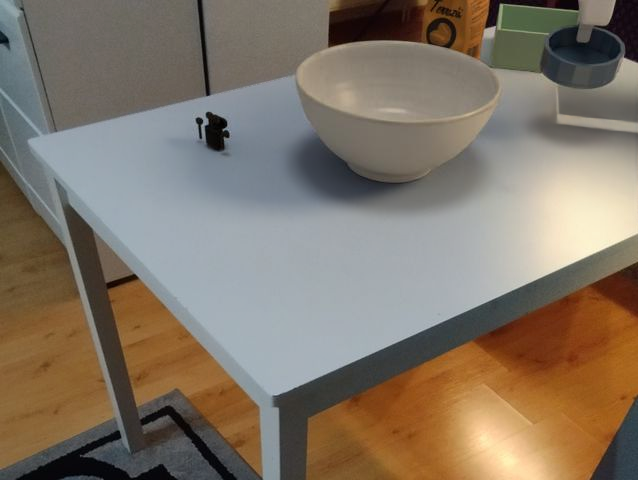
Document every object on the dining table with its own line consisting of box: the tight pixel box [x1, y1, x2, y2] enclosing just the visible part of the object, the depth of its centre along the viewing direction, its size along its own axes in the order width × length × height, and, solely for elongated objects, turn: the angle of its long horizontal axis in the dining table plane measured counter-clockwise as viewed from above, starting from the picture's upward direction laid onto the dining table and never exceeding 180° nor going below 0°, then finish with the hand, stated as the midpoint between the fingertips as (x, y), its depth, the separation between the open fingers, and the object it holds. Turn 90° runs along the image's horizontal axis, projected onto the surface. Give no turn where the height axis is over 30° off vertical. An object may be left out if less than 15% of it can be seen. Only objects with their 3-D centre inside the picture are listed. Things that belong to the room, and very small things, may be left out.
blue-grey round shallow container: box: [539, 25, 626, 90], centre depth 98 cm, size 11×11×4 cm
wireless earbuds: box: [195, 111, 231, 151], centre depth 97 cm, size 7×2×5 cm, turn 48°
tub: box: [489, 3, 579, 73], centre depth 126 cm, size 15×15×6 cm
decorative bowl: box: [294, 40, 503, 184], centre depth 93 cm, size 27×27×12 cm
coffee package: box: [420, 0, 491, 61], centre depth 114 cm, size 10×12×22 cm
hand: (581, 38), depth 101 cm, fingers closed on blue-grey round shallow container
